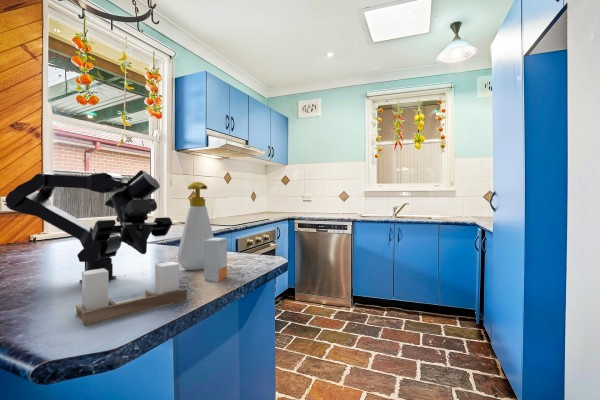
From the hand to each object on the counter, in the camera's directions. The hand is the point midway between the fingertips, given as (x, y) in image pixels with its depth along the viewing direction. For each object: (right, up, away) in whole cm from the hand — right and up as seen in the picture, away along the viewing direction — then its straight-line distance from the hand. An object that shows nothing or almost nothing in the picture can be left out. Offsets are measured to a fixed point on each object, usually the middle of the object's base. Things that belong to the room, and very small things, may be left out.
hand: (144, 253), depth 77 cm
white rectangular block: (+10, -9, -10) cm, 17 cm away
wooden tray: (+5, -9, -13) cm, 17 cm away
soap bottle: (+7, -9, +21) cm, 24 cm away
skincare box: (+16, -10, +8) cm, 21 cm away
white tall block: (-1, -9, -16) cm, 19 cm away
